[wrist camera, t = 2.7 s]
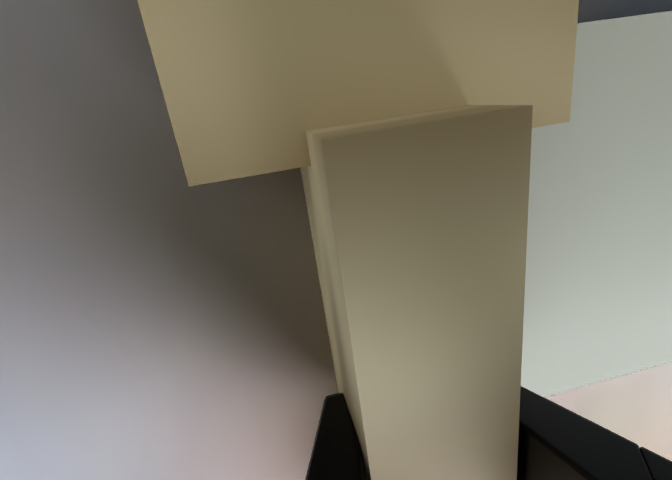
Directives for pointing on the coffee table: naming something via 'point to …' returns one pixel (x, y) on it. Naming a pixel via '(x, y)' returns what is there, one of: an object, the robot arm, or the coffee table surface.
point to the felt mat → (603, 214)
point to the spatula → (390, 190)
